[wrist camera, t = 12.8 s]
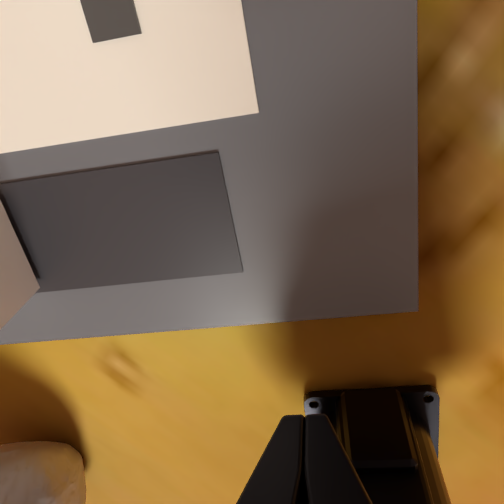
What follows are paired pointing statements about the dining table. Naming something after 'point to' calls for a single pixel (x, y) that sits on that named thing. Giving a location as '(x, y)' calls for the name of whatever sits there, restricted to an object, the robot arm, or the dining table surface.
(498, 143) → the dining table surface
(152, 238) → the switch board
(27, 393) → the dining table surface
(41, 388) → the dining table surface
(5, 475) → the heart
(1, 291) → the peach cube
